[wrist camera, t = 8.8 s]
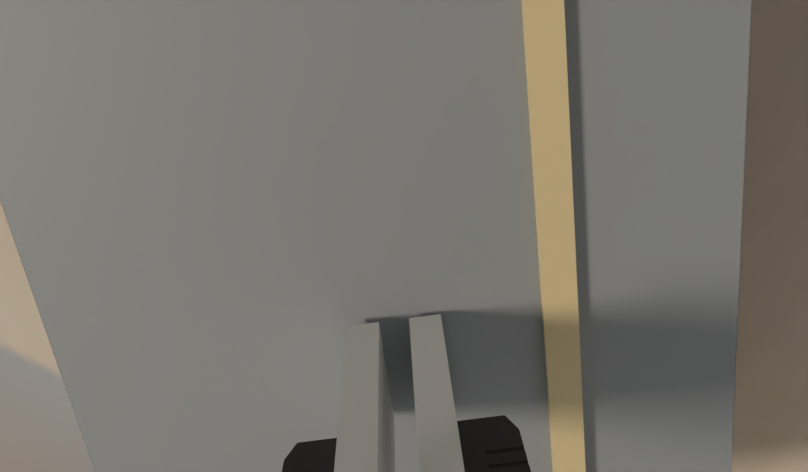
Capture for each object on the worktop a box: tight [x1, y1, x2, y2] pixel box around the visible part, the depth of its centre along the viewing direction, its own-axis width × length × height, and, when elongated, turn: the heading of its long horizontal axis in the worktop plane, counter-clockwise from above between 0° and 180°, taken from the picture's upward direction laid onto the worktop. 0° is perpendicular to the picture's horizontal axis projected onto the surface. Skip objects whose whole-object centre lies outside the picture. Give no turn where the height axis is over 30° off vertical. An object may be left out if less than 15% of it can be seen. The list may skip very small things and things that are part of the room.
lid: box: [0, 0, 752, 472], centre depth 19 cm, size 23×17×2 cm
